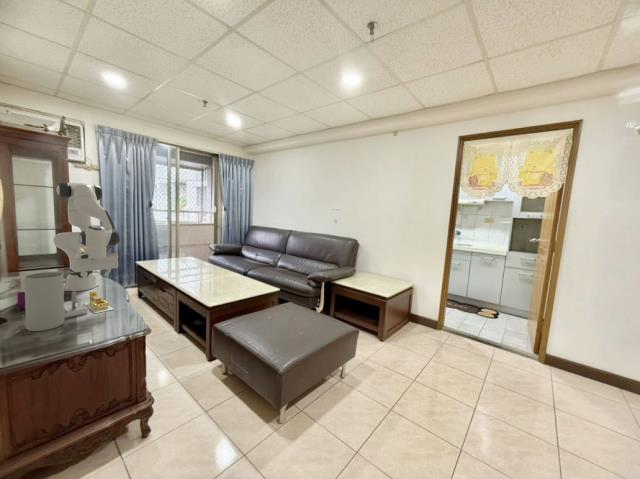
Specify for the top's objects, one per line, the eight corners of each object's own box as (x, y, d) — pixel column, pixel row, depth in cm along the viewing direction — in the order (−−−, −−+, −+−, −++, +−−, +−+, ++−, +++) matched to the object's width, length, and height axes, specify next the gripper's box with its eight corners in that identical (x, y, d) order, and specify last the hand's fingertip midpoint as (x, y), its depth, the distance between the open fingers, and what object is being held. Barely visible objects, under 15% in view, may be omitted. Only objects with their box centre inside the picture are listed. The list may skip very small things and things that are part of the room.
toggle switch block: (55, 308, 141) (55, 287, 140) (77, 304, 148) (77, 284, 147) (64, 318, 131) (64, 295, 130) (87, 313, 139) (87, 292, 137)
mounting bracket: (20, 312, 146) (17, 308, 134) (20, 298, 147) (17, 292, 135) (44, 309, 152) (43, 304, 140) (44, 295, 154) (43, 289, 142)
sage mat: (84, 304, 150) (84, 303, 150) (101, 300, 157) (101, 300, 157) (95, 313, 139) (95, 312, 139) (113, 309, 146) (113, 309, 146)
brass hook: (86, 302, 151) (86, 292, 150) (99, 300, 156) (99, 290, 155) (95, 310, 142) (95, 299, 141) (108, 307, 147) (108, 297, 146)
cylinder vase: (23, 326, 120) (21, 274, 118) (59, 318, 131) (58, 270, 128) (30, 334, 114) (28, 280, 111) (68, 325, 124) (67, 275, 122)
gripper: (116, 251, 157) (116, 273, 158) (70, 254, 140) (71, 279, 141) (120, 253, 153) (120, 275, 155) (74, 256, 136) (74, 281, 138)
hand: (96, 277), depth 148 cm, fingers open, 8 cm apart
